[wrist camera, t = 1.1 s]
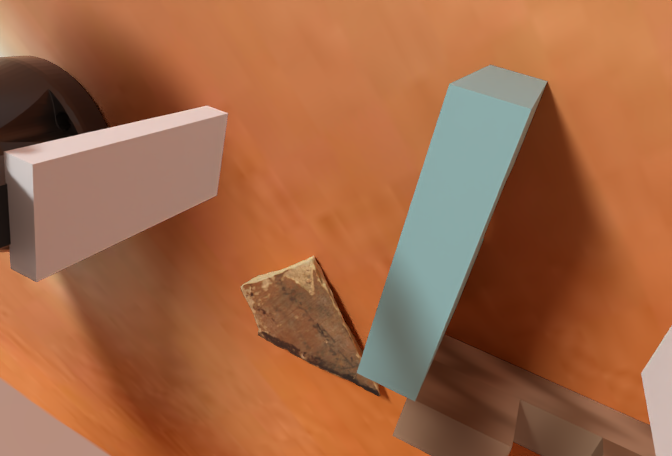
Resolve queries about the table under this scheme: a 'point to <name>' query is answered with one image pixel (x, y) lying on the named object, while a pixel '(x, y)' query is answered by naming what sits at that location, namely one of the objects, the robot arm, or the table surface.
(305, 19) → the table surface
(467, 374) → the walnut board
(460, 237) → the teal board
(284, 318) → the shard
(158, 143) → the robot arm
